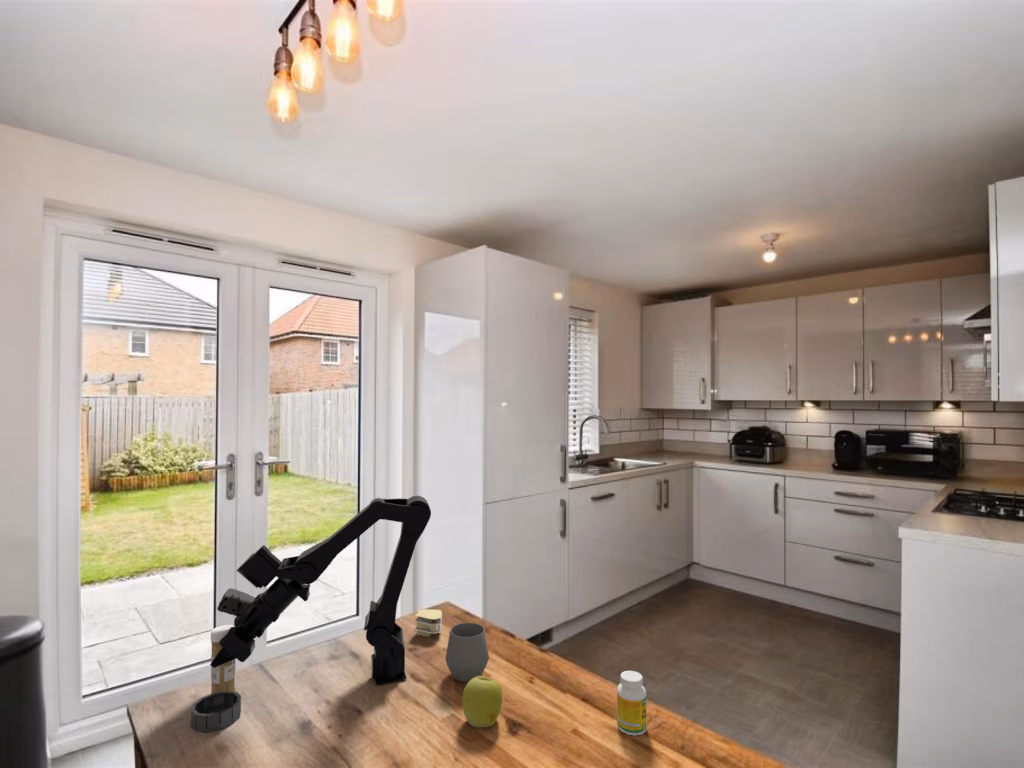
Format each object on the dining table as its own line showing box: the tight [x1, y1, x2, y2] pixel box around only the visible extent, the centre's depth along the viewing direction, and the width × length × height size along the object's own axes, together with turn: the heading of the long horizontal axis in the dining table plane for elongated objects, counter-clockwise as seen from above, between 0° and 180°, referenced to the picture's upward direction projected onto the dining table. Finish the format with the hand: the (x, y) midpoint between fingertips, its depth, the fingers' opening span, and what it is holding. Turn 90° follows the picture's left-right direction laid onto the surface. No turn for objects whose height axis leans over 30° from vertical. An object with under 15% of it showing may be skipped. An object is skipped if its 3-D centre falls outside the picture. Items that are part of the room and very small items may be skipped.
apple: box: [461, 671, 503, 728], centre depth 103 cm, size 8×8×10 cm
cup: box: [445, 622, 490, 683], centre depth 119 cm, size 10×9×10 cm
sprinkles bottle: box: [210, 624, 236, 694], centre depth 112 cm, size 5×5×14 cm
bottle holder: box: [190, 691, 242, 734], centre depth 103 cm, size 8×8×3 cm
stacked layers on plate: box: [414, 609, 443, 637], centre depth 140 cm, size 10×9×6 cm
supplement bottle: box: [616, 670, 647, 737], centre depth 100 cm, size 5×5×10 cm
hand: (215, 660), depth 111 cm, fingers closed on sprinkles bottle, 4 cm apart
